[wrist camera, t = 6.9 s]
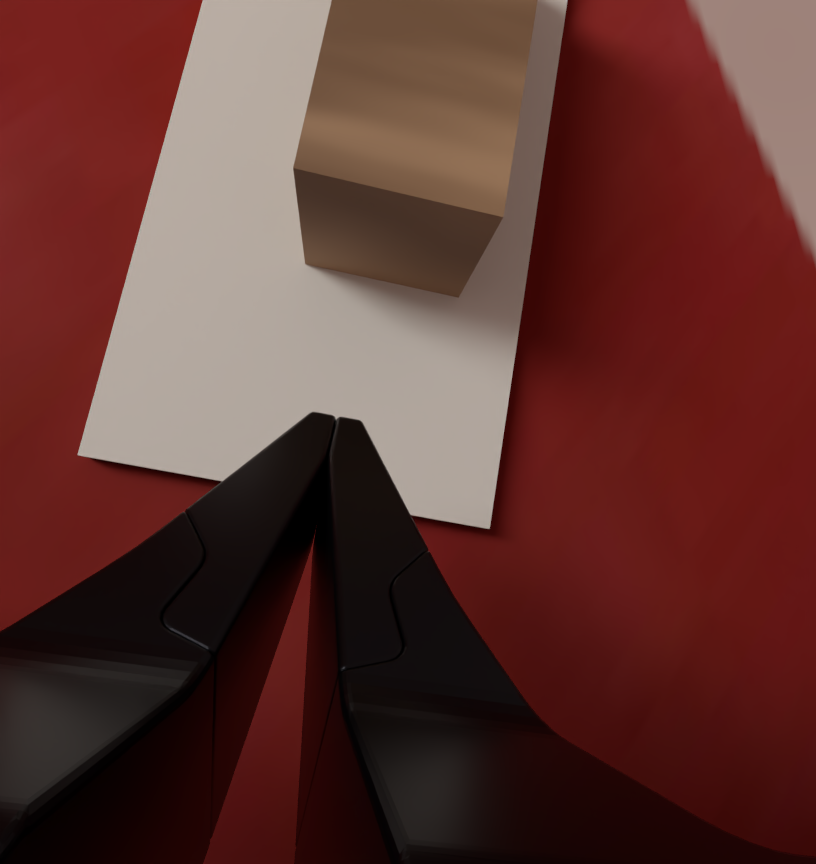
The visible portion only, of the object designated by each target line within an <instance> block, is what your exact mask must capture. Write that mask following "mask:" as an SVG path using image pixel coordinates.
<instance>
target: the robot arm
mask: <svg viewBox="0 0 816 864" xmlns="http://www.w3.org/2000/svg"><path fill="white" fill-rule="evenodd" d="M316 525H317V526H316ZM315 530H316V532H315ZM314 535H315V538H314ZM313 539H314V545H313V556H312V572H311V589H310V606H309V623H308V641H307V658H306V675H305V692H304V709H303V726H302V744H301V761H300V778H299V795H298V812H297V829H296V851H295V863H294V864H816V857H813V856H804V855H795V854H790V853H785V852H780V851H775V850H772V849H769V848H765V847H762V846H759V845H756V844H753V843H751V842H748V841H746V840H744V839H741V838H739V837H737V836H734V835H732V834H730V833H727V832H725V831H723V830H721V829H719V828H717V827H716V826H714V825H712V824H710V823H708V822H706V821H704V820H702V819H701V818H699V817H697V816H695V815H694V814H692V813H690V812H689V811H687V810H685V809H683V808H682V807H680V806H678V805H677V804H675V803H673V802H671V801H670V800H668V799H666V798H665V797H663V796H661V795H659V794H658V793H656V792H654V791H653V790H651V789H649V788H647V787H646V786H644V785H642V784H641V783H639V782H637V781H635V780H634V779H632V778H630V777H628V776H627V775H625V774H623V773H622V772H620V771H618V770H616V769H615V768H613V767H611V766H610V765H608V764H606V763H604V762H603V761H601V760H599V759H598V758H596V757H594V756H592V755H591V754H589V753H587V752H586V751H584V750H582V749H580V748H579V747H577V746H575V745H574V744H572V743H570V742H569V741H567V740H565V739H564V738H562V737H561V736H559V735H558V734H557V733H556V732H554V731H553V730H552V729H551V728H550V727H549V726H548V725H547V724H546V723H545V722H544V721H543V720H542V719H541V718H540V717H539V716H538V715H537V714H536V713H535V712H534V710H533V709H532V708H531V707H530V706H529V704H528V703H527V702H526V700H525V699H524V698H523V696H522V695H521V694H520V692H519V691H518V689H517V688H516V686H515V685H514V683H513V682H512V681H511V679H510V678H509V676H508V675H507V673H506V672H505V670H504V669H503V668H502V666H501V665H500V663H499V662H498V660H497V659H496V657H495V656H494V655H493V653H492V652H491V650H490V649H489V647H488V646H487V645H486V643H485V642H484V640H483V639H482V637H481V636H480V634H479V633H478V632H477V630H476V629H475V627H474V626H473V624H472V623H471V621H470V620H469V618H468V617H467V615H466V614H465V612H464V611H463V609H462V607H461V606H460V604H459V603H458V601H457V600H456V598H455V597H454V595H453V593H452V592H451V590H450V588H449V586H448V585H447V583H446V581H445V579H444V578H443V576H442V574H441V572H440V570H439V569H438V567H437V565H436V563H435V561H434V559H433V557H432V555H431V553H430V552H428V548H427V546H426V544H425V542H424V540H423V538H422V536H421V534H420V532H419V530H418V528H417V526H416V524H415V522H414V521H413V519H412V517H411V515H410V513H409V511H408V509H407V507H406V505H405V503H404V501H403V499H402V497H401V495H400V494H399V492H398V490H397V488H396V486H395V484H394V482H393V480H392V478H391V476H390V474H389V472H388V470H387V469H386V467H385V465H384V463H383V461H382V459H381V457H380V455H379V453H378V451H377V449H376V447H375V445H374V443H373V442H372V440H371V438H370V436H369V434H368V432H367V430H366V428H365V426H364V424H363V422H362V421H360V420H357V419H352V418H346V417H338V418H337V419H336V418H335V416H333V415H330V414H324V413H319V412H310V413H309V414H308V415H306V416H305V417H304V418H303V419H301V420H300V421H299V422H297V423H296V424H295V425H294V426H292V427H291V428H290V429H288V430H287V431H286V432H285V433H283V434H282V435H281V436H279V437H278V438H277V439H276V440H274V441H273V442H272V443H271V444H269V445H268V446H267V447H265V448H264V449H263V450H262V451H260V452H259V453H258V454H256V455H255V456H254V457H253V458H251V459H250V460H249V461H248V462H246V463H245V464H244V465H242V466H241V467H240V468H239V469H237V470H236V471H235V472H233V473H232V474H231V475H230V476H228V477H227V478H226V479H225V480H223V481H222V482H221V483H219V484H218V485H217V486H216V487H214V488H213V489H212V490H210V491H209V492H208V493H207V494H205V495H204V496H203V497H201V498H200V499H199V500H198V501H196V502H195V503H194V504H193V505H191V506H190V507H189V508H187V509H186V511H185V512H182V513H181V514H179V515H178V516H177V517H176V518H174V519H173V520H172V521H170V522H169V523H168V524H167V525H165V526H164V527H163V528H161V529H160V530H159V531H157V532H156V533H154V534H153V535H152V536H150V537H149V538H148V539H146V540H145V541H144V542H142V543H141V544H139V545H138V546H137V547H135V548H134V549H132V550H131V551H129V552H128V553H126V554H124V555H123V556H121V557H120V558H118V559H117V560H115V561H114V562H112V563H111V564H109V565H108V566H106V567H105V568H103V569H101V570H100V571H98V572H97V573H95V574H93V575H92V576H90V577H89V578H87V579H85V580H84V581H82V582H80V583H79V584H77V585H76V586H74V587H72V588H71V589H69V590H67V591H66V592H64V593H63V594H61V595H59V596H58V597H56V598H55V599H53V600H51V601H50V602H48V603H46V604H45V605H43V606H42V607H40V608H38V609H37V610H35V611H34V612H32V613H30V614H29V615H27V616H25V617H24V618H22V619H21V620H19V621H17V622H16V623H14V624H12V625H11V626H9V627H7V628H6V629H4V630H2V631H0V864H203V862H204V859H205V856H206V853H207V850H208V847H209V844H210V839H211V837H212V835H213V832H214V829H215V826H216V824H217V821H218V818H219V815H220V812H221V809H222V806H223V803H224V800H225V797H226V795H227V792H228V789H229V786H230V783H231V780H232V777H233V774H234V771H235V768H236V765H237V763H238V760H239V757H240V754H241V751H242V748H243V745H244V742H245V739H246V736H247V734H248V731H249V728H250V725H251V722H252V719H253V716H254V713H255V710H256V707H257V704H258V702H259V699H260V696H261V693H262V690H263V687H264V684H265V681H266V678H267V675H268V673H269V670H270V667H271V664H272V661H273V658H274V655H275V652H276V649H277V646H278V644H279V641H280V638H281V635H282V632H283V629H284V626H285V623H286V620H287V617H288V614H289V612H290V609H291V606H292V603H293V600H294V597H295V594H296V591H297V588H298V585H299V583H300V580H301V577H302V574H303V571H304V568H305V565H306V562H307V559H308V556H309V553H310V550H311V547H312V543H313Z"/></svg>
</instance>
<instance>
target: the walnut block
mask: <svg viewBox="0 0 816 864" xmlns="http://www.w3.org/2000/svg"><path fill="white" fill-rule="evenodd" d="M537 1H538V0H332V1H331V6H330V10H329V14H328V19H327V23H326V27H325V32H324V36H323V40H322V45H321V49H320V53H319V58H318V62H317V66H316V71H315V75H314V79H313V84H312V88H311V92H310V97H309V101H308V105H307V110H306V114H305V118H304V123H303V127H302V131H301V136H300V140H299V145H298V149H297V153H296V158H295V162H294V166H293V171H294V179H295V187H296V195H297V203H298V211H299V219H300V227H301V235H302V243H303V251H304V259H305V264H307V265H311V266H316V267H321V268H325V269H330V270H334V271H339V272H344V273H348V274H353V275H357V276H362V277H366V278H371V279H376V280H380V281H385V282H389V283H394V284H398V285H403V286H408V287H412V288H417V289H421V290H426V291H431V292H435V293H440V294H444V295H449V296H453V297H458V298H459V296H460V294H461V293H462V291H463V289H464V287H465V285H466V284H467V282H468V280H469V278H470V276H471V275H472V273H473V271H474V269H475V267H476V266H477V264H478V262H479V260H480V258H481V257H482V255H483V253H484V251H485V249H486V248H487V246H488V244H489V242H490V240H491V239H492V237H493V235H494V233H495V231H496V230H497V228H498V226H499V224H500V222H501V221H502V219H503V216H504V210H505V204H506V197H507V191H508V185H509V178H510V172H511V166H512V159H513V153H514V147H515V140H516V134H517V128H518V121H519V115H520V109H521V102H522V96H523V90H524V83H525V77H526V71H527V64H528V58H529V52H530V45H531V39H532V33H533V26H534V20H535V14H536V7H537Z"/></svg>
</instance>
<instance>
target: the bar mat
mask: <svg viewBox="0 0 816 864" xmlns="http://www.w3.org/2000/svg"><path fill="white" fill-rule="evenodd" d="M331 1H332V0H203V2H202V5H201V9H200V13H199V16H198V20H197V24H196V27H195V31H194V35H193V38H192V42H191V45H190V49H189V53H188V56H187V60H186V64H185V67H184V71H183V74H182V78H181V82H180V85H179V89H178V93H177V96H176V100H175V103H174V107H173V111H172V114H171V118H170V122H169V125H168V129H167V132H166V136H165V140H164V143H163V147H162V151H161V154H160V158H159V161H158V165H157V169H156V172H155V176H154V180H153V183H152V187H151V191H150V194H149V198H148V201H147V205H146V209H145V212H144V216H143V220H142V223H141V227H140V230H139V234H138V238H137V241H136V245H135V249H134V252H133V256H132V259H131V263H130V267H129V270H128V274H127V278H126V281H125V285H124V288H123V292H122V296H121V299H120V303H119V307H118V310H117V314H116V317H115V321H114V325H113V328H112V332H111V336H110V339H109V343H108V347H107V350H106V354H105V357H104V361H103V365H102V368H101V372H100V376H99V379H98V383H97V386H96V390H95V394H94V397H93V401H92V405H91V408H90V412H89V415H88V419H87V423H86V426H85V430H84V434H83V437H82V441H81V444H80V448H79V452H78V455H79V456H83V457H87V458H93V459H99V460H104V461H110V462H115V463H121V464H127V465H132V466H138V467H143V468H149V469H154V470H160V471H166V472H171V473H177V474H182V475H188V476H194V477H199V478H205V479H210V480H216V481H221V482H222V481H223V480H225V479H226V478H227V477H228V476H230V475H231V474H232V473H233V472H235V471H236V470H237V469H239V468H240V467H241V466H242V465H244V464H245V463H246V462H248V461H249V460H250V459H251V458H253V457H254V456H255V455H256V454H258V453H259V452H260V451H262V450H263V449H264V448H265V447H267V446H268V445H269V444H271V443H272V442H273V441H274V440H276V439H277V438H278V437H279V436H281V435H282V434H283V433H285V432H286V431H287V430H288V429H290V428H291V427H292V426H294V425H295V424H296V423H297V422H299V421H300V420H301V419H303V418H304V417H305V416H306V415H308V414H309V413H310V412H319V413H324V414H330V415H333V416H335V418H336V419H337V418H338V417H346V418H352V419H357V420H360V421H362V422H363V424H364V426H365V428H366V430H367V432H368V434H369V436H370V438H371V440H372V442H373V443H374V445H375V447H376V449H377V451H378V453H379V455H380V457H381V459H382V461H383V463H384V465H385V467H386V469H387V470H388V472H389V474H390V476H391V478H392V480H393V482H394V484H395V486H396V488H397V490H398V492H399V494H400V495H401V497H402V499H403V501H404V503H405V505H406V507H407V509H408V511H409V513H410V515H411V516H417V517H422V518H428V519H434V520H439V521H445V522H450V523H456V524H462V525H467V526H473V527H478V528H484V529H490V524H491V517H492V510H493V503H494V497H495V490H496V483H497V476H498V469H499V463H500V456H501V449H502V442H503V435H504V429H505V422H506V415H507V408H508V401H509V395H510V388H511V381H512V374H513V368H514V361H515V354H516V347H517V340H518V334H519V327H520V320H521V313H522V306H523V300H524V293H525V286H526V279H527V272H528V266H529V259H530V252H531V245H532V238H533V232H534V225H535V218H536V211H537V205H538V198H539V191H540V184H541V177H542V171H543V164H544V157H545V150H546V143H547V137H548V130H549V123H550V116H551V109H552V103H553V96H554V89H555V82H556V75H557V69H558V62H559V55H560V48H561V41H562V35H563V28H564V21H565V14H566V8H567V1H568V0H538V1H537V7H536V14H535V20H534V26H533V33H532V39H531V45H530V52H529V58H528V64H527V71H526V77H525V83H524V90H523V96H522V102H521V109H520V115H519V121H518V128H517V134H516V140H515V147H514V153H513V159H512V166H511V172H510V178H509V185H508V191H507V197H506V204H505V210H504V216H503V219H502V221H501V222H500V224H499V226H498V228H497V230H496V231H495V233H494V235H493V237H492V239H491V240H490V242H489V244H488V246H487V248H486V249H485V251H484V253H483V255H482V257H481V258H480V260H479V262H478V264H477V266H476V267H475V269H474V271H473V273H472V275H471V276H470V278H469V280H468V282H467V284H466V285H465V287H464V289H463V291H462V293H461V294H460V296H459V298H458V297H453V296H449V295H444V294H440V293H435V292H431V291H426V290H421V289H417V288H412V287H408V286H403V285H398V284H394V283H389V282H385V281H380V280H376V279H371V278H366V277H362V276H357V275H353V274H348V273H344V272H339V271H334V270H330V269H325V268H321V267H316V266H311V265H307V264H305V259H304V251H303V243H302V235H301V227H300V219H299V211H298V203H297V195H296V187H295V179H294V171H293V166H294V162H295V158H296V153H297V149H298V145H299V140H300V136H301V131H302V127H303V123H304V118H305V114H306V110H307V105H308V101H309V97H310V92H311V88H312V84H313V79H314V75H315V71H316V66H317V62H318V58H319V53H320V49H321V45H322V40H323V36H324V32H325V27H326V23H327V19H328V14H329V10H330V6H331Z"/></svg>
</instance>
